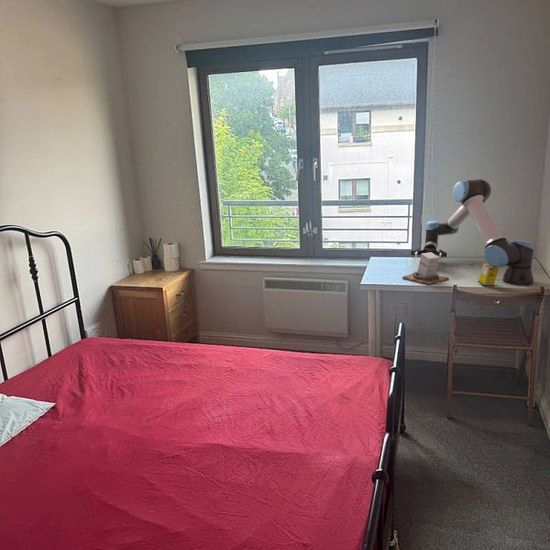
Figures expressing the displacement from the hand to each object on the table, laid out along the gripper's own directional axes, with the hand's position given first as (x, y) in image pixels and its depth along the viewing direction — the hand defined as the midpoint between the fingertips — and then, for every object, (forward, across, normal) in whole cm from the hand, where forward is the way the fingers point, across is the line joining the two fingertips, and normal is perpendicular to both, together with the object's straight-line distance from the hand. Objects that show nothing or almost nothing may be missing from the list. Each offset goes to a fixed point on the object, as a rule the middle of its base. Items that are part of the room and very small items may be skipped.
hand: (427, 256), depth 286 cm
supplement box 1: (+9, 0, -9) cm, 13 cm away
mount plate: (+10, 0, -11) cm, 15 cm away
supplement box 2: (+13, -32, -10) cm, 36 cm away
